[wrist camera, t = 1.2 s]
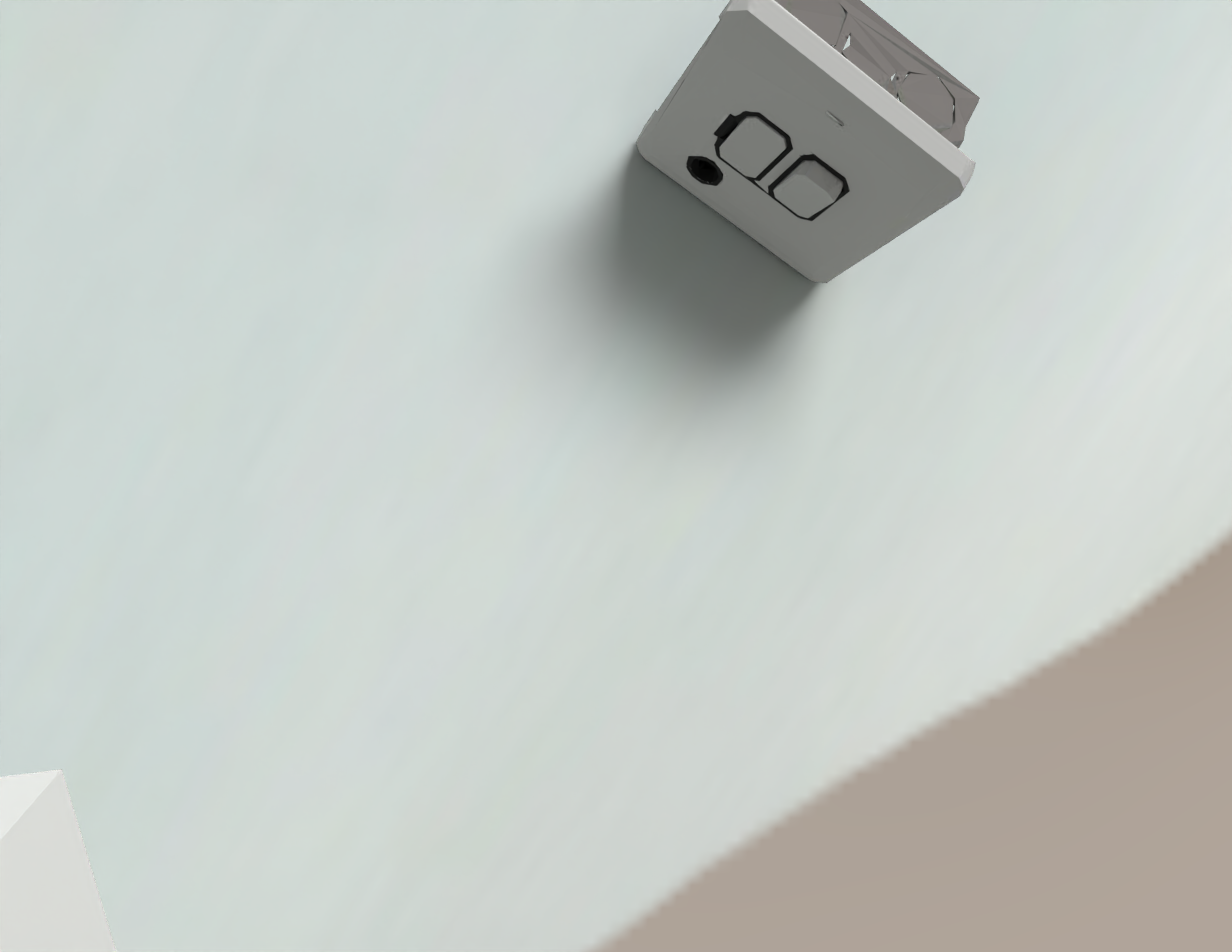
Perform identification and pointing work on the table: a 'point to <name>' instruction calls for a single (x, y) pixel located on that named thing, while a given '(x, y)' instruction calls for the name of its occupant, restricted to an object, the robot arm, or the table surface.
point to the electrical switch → (814, 130)
